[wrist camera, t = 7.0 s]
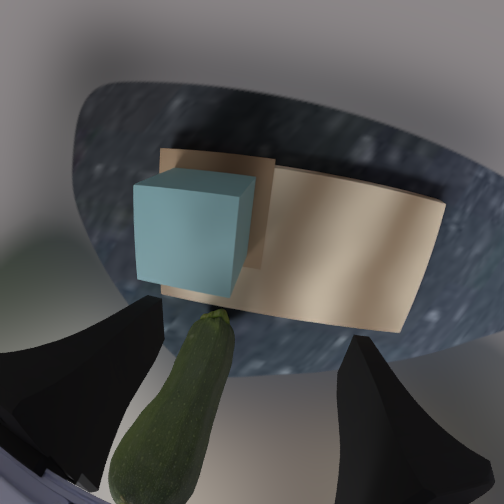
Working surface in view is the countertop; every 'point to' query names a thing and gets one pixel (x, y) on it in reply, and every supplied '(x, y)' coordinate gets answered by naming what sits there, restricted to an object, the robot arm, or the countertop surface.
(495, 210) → the countertop surface
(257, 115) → the countertop surface
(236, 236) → the teal block
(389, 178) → the countertop surface
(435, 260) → the countertop surface
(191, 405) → the vegetable
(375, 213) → the maple board
